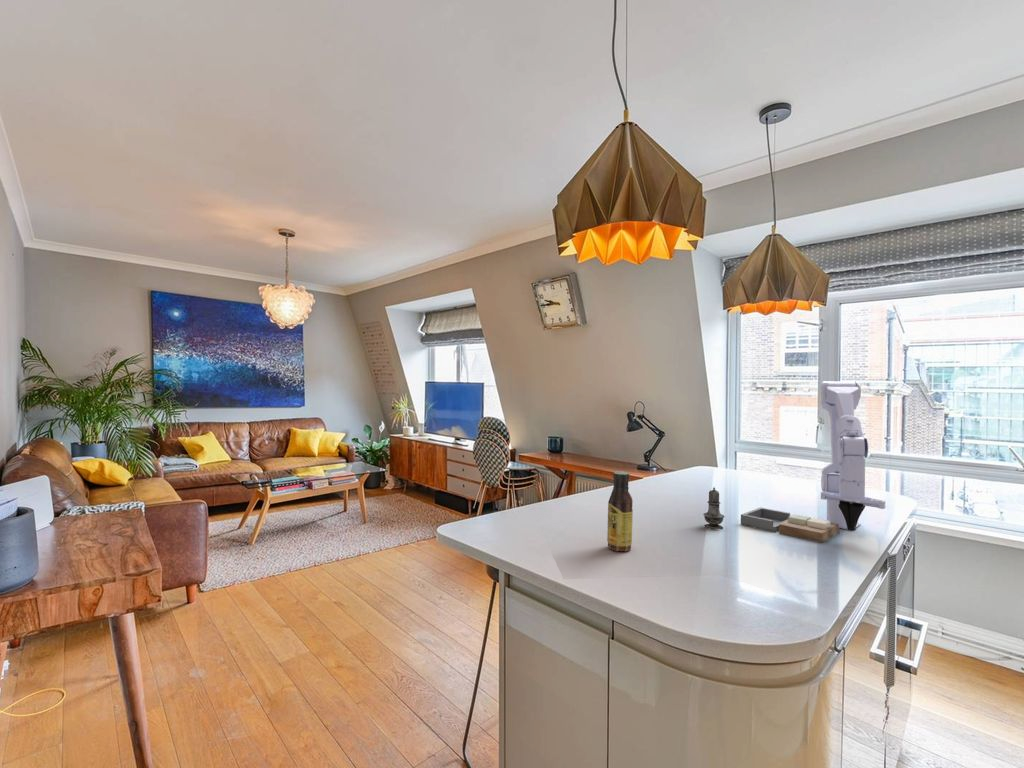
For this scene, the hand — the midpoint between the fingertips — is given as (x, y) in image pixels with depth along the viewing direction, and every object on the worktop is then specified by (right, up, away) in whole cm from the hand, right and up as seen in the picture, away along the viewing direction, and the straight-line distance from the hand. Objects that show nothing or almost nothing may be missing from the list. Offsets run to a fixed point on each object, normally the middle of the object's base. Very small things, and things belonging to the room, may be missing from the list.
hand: (851, 530), depth 134 cm
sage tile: (-8, -1, +10) cm, 13 cm away
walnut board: (-7, -3, +8) cm, 11 cm away
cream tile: (-5, -1, +6) cm, 8 cm away
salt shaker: (-32, -3, +13) cm, 35 cm away
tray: (-14, -3, +17) cm, 22 cm away
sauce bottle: (-65, -3, -8) cm, 66 cm away
